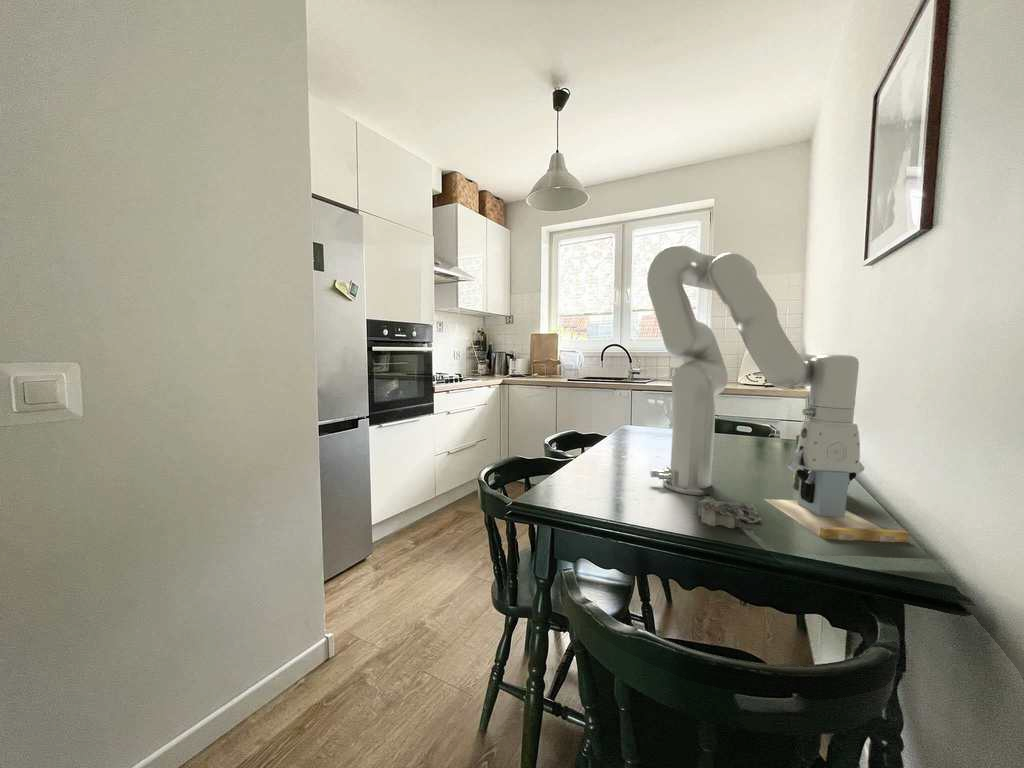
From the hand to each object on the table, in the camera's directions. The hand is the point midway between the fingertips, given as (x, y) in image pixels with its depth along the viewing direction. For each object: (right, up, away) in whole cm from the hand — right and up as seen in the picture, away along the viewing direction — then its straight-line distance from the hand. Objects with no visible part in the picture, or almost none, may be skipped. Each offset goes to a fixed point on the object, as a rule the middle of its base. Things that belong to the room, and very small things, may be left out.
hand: (821, 500), depth 90 cm
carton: (0, -2, 0) cm, 2 cm away
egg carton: (-21, -4, -3) cm, 22 cm away
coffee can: (+9, -3, +14) cm, 17 cm away
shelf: (-2, -4, -4) cm, 6 cm away
